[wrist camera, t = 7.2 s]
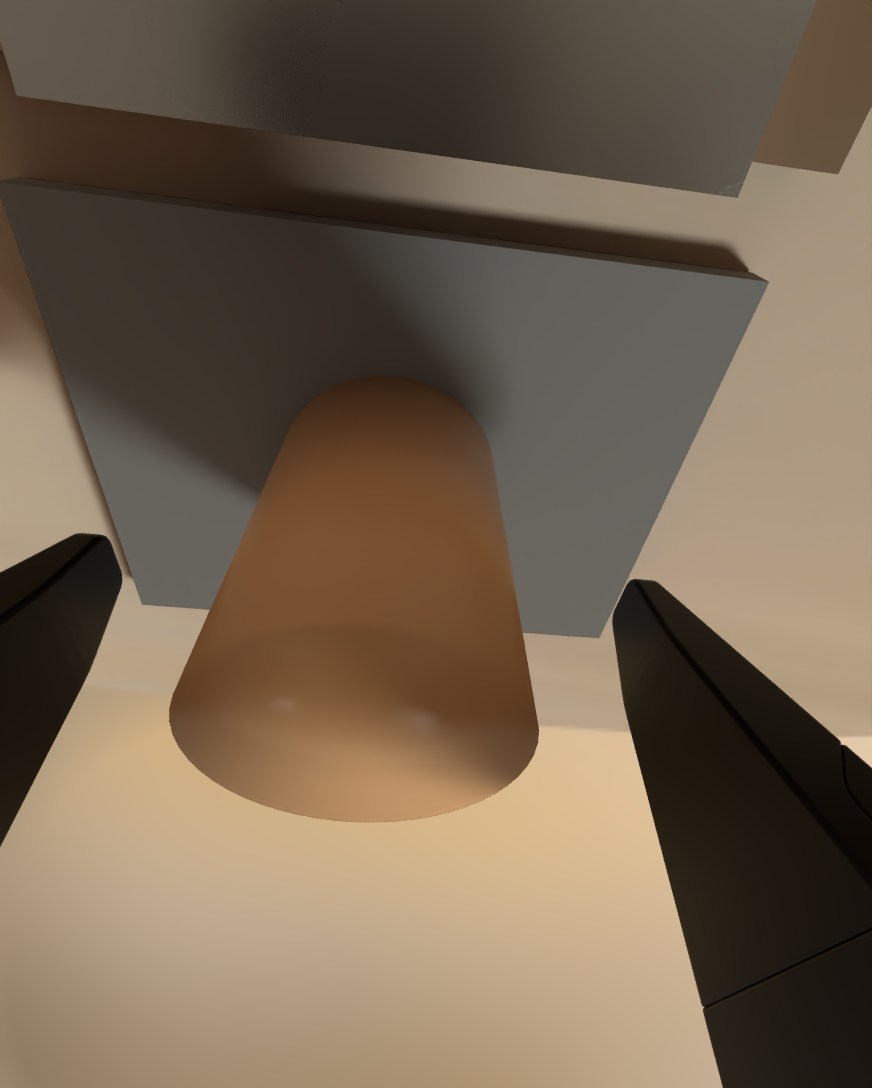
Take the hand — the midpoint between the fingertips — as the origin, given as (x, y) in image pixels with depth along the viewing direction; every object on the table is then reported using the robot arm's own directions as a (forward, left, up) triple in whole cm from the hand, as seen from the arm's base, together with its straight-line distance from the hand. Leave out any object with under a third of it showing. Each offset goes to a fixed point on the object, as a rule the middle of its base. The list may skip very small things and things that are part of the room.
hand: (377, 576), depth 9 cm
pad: (0, 0, -4) cm, 4 cm away
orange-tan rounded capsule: (0, 0, -3) cm, 3 cm away
